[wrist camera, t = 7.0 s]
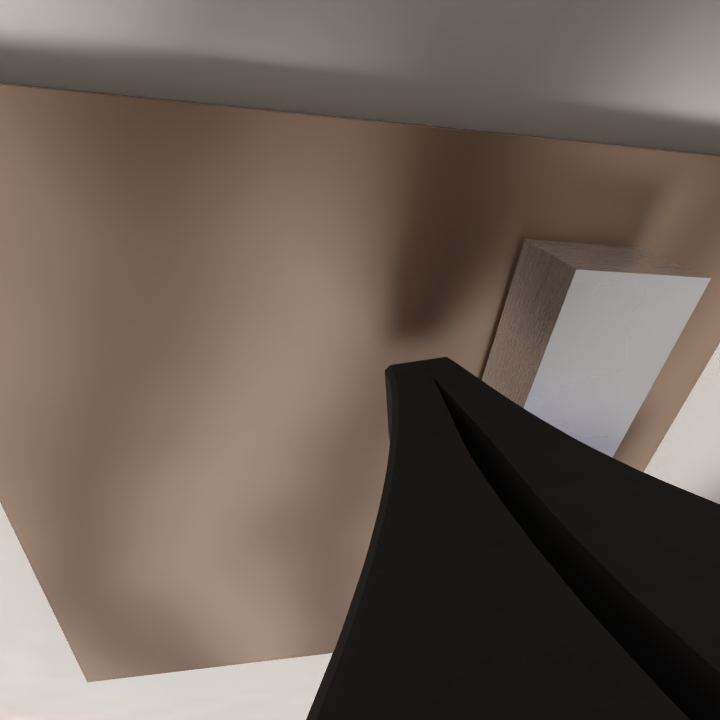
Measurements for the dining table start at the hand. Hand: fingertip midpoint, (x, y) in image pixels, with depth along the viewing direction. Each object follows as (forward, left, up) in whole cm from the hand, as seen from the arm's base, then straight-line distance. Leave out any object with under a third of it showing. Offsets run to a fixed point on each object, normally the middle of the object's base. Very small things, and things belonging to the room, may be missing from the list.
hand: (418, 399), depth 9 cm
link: (-4, +5, -2) cm, 7 cm away
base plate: (0, +5, -3) cm, 6 cm away
